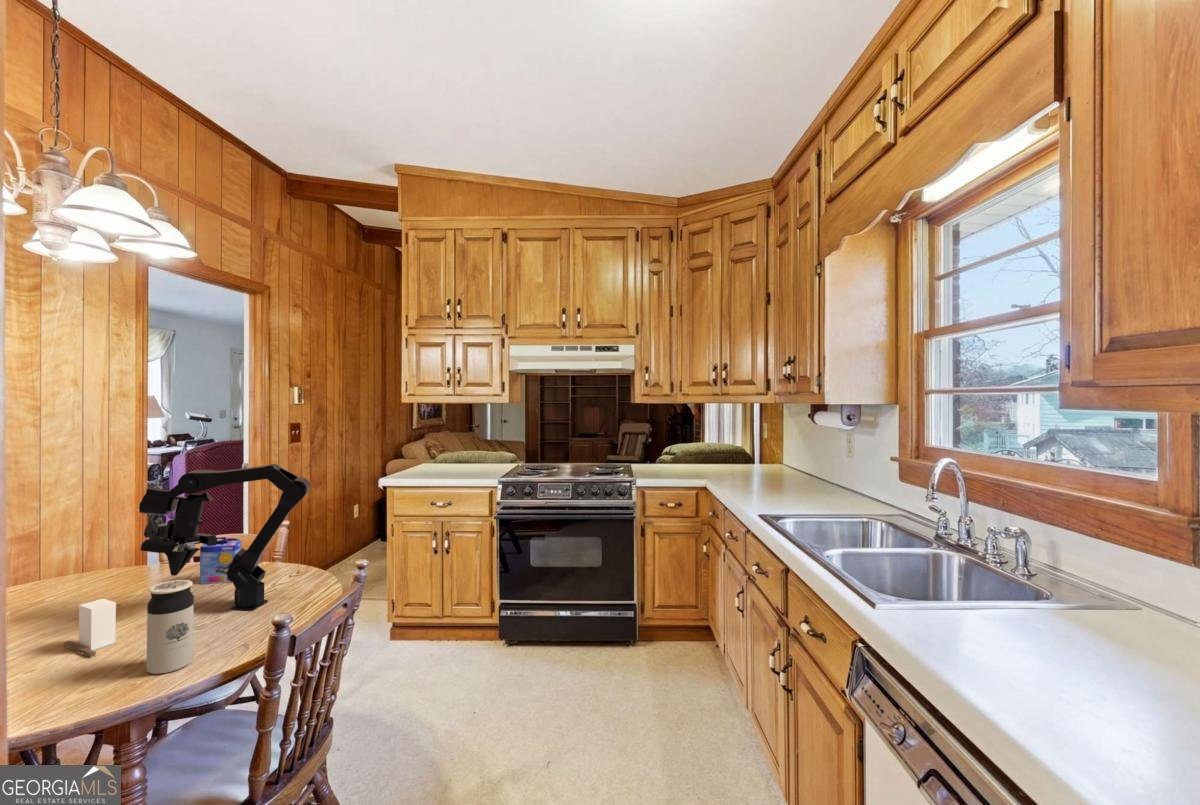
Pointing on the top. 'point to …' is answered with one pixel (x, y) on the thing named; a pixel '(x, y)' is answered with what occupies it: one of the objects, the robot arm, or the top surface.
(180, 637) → the beige jar
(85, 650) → the strip
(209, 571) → the ink cartridge box
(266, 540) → the robot arm
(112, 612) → the plain white block
